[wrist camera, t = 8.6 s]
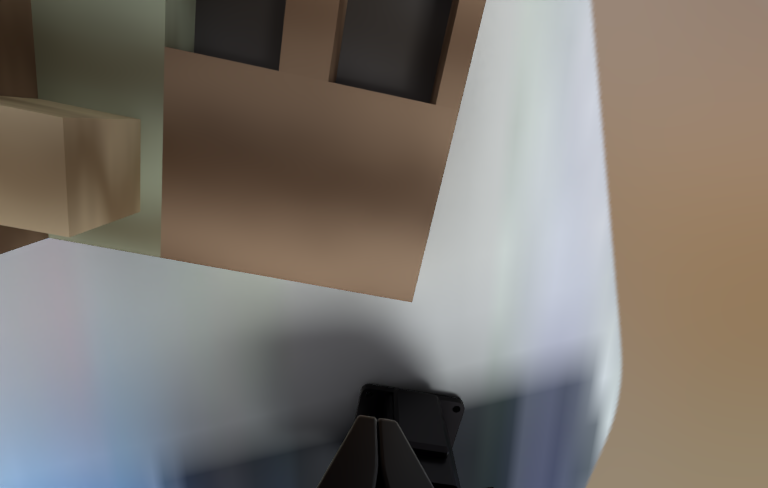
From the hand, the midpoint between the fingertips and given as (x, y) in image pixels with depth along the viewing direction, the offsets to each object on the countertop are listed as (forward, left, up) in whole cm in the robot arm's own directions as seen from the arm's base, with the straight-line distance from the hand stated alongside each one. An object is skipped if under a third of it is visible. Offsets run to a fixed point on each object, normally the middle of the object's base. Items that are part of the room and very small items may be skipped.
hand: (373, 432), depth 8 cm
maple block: (+2, +13, -10) cm, 17 cm away
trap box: (+6, +7, -13) cm, 16 cm away
